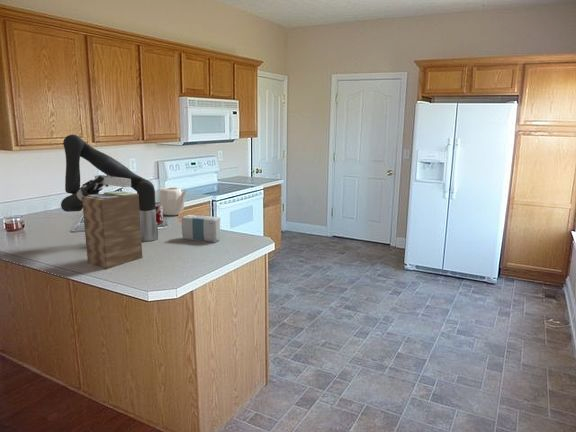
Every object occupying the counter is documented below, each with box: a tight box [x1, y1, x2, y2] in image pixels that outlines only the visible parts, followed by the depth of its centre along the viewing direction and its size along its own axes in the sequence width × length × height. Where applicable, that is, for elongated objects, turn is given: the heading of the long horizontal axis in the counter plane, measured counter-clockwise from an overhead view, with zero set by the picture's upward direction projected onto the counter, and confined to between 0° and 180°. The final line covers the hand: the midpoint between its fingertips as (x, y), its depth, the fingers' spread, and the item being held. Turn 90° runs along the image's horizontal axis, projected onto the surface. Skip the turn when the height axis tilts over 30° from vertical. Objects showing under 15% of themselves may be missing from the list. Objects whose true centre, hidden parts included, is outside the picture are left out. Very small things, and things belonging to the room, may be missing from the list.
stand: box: [82, 190, 143, 270], centre depth 209 cm, size 14×20×32 cm
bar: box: [94, 174, 131, 188], centre depth 210 cm, size 22×4×4 cm, turn 58°
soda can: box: [155, 203, 164, 225], centre depth 287 cm, size 7×7×12 cm
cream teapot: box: [158, 186, 188, 216], centre depth 314 cm, size 16×27×19 cm, turn 59°
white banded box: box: [181, 205, 221, 242], centre depth 249 cm, size 21×8×20 cm, turn 73°
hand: (105, 177), depth 212 cm, fingers closed on bar, 3 cm apart
